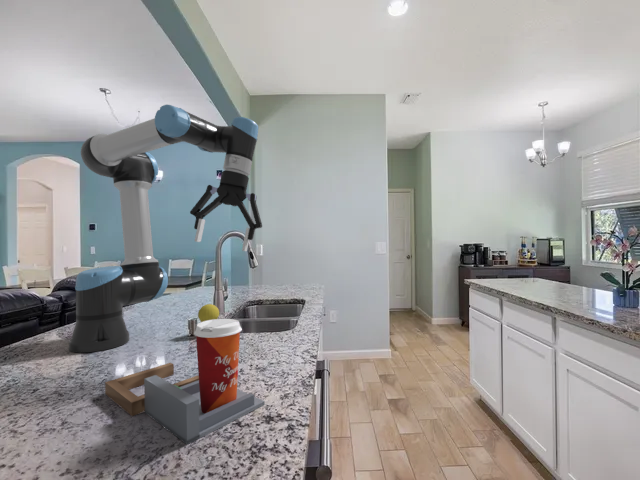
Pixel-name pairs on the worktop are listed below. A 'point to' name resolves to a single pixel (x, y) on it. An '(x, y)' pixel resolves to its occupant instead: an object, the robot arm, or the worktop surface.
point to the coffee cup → (217, 361)
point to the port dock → (191, 408)
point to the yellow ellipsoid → (208, 312)
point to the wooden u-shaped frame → (121, 386)
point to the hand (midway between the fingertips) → (220, 246)
